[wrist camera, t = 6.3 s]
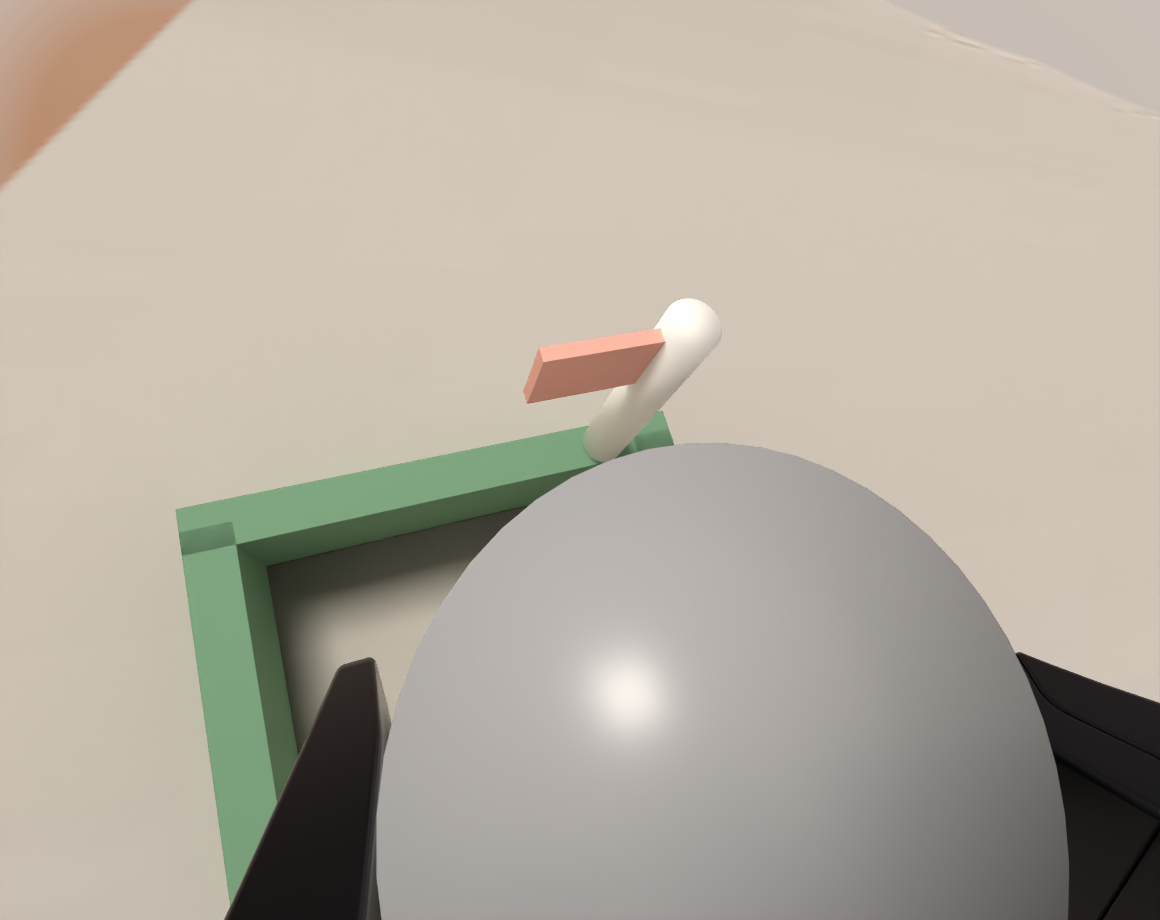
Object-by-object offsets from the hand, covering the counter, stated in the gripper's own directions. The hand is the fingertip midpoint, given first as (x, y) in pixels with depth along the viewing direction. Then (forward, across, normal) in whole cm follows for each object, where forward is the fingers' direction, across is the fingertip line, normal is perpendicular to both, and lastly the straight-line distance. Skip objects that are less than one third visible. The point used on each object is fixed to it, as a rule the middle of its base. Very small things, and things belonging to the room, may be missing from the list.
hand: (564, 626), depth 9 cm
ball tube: (+4, 0, +6) cm, 7 cm away
